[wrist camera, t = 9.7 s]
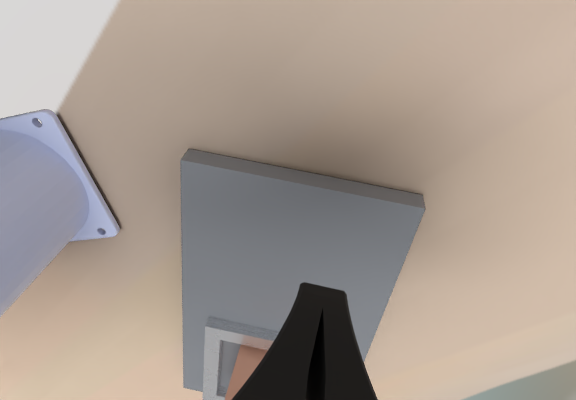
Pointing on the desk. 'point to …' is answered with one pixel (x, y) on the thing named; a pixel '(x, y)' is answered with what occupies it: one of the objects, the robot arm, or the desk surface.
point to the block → (244, 368)
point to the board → (283, 248)
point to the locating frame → (214, 339)
